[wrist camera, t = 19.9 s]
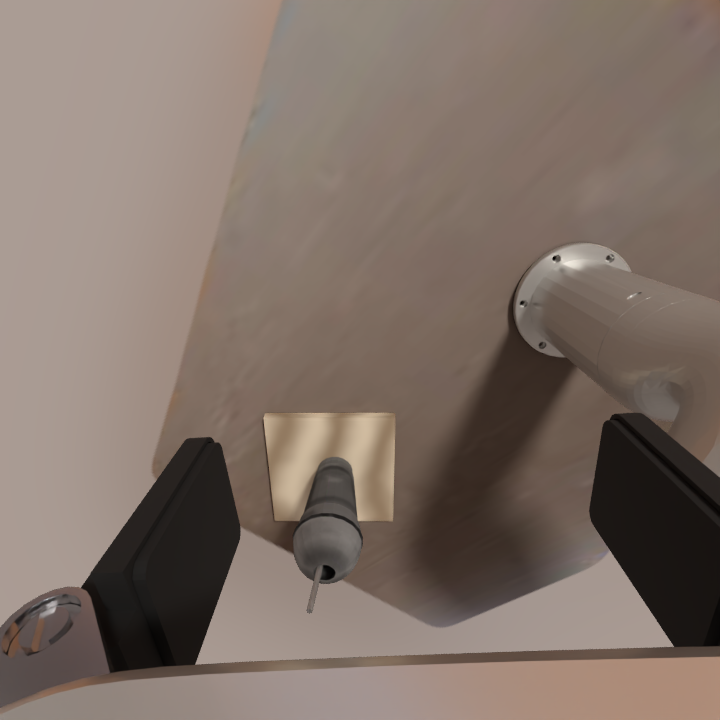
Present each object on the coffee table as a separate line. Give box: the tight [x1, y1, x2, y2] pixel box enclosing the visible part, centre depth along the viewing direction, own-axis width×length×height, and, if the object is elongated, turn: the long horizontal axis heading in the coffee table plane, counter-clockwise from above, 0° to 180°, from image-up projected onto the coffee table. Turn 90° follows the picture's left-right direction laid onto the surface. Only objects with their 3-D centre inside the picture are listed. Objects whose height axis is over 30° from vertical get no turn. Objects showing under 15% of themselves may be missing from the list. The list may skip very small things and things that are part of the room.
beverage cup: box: [293, 457, 363, 613], centre depth 45 cm, size 7×7×20 cm
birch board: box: [264, 413, 395, 521], centre depth 55 cm, size 16×16×1 cm
